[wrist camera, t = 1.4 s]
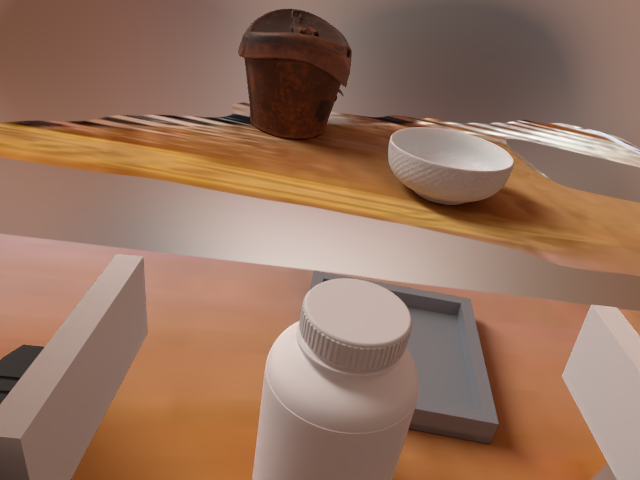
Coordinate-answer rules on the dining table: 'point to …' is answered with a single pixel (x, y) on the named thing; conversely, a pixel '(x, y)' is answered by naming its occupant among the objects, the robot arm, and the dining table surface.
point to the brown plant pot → (293, 72)
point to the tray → (445, 364)
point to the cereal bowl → (448, 164)
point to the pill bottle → (338, 387)
